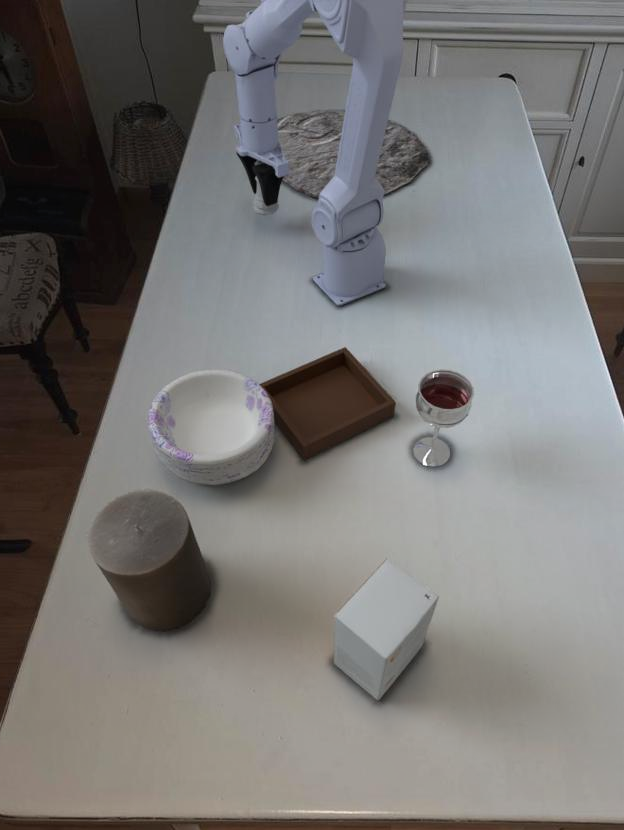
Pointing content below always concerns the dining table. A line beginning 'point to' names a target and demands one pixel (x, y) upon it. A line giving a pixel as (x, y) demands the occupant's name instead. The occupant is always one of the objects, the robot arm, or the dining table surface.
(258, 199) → the rook chess piece
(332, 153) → the worn metal disc
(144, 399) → the dining table surface
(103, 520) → the pillar candle
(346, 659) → the small box
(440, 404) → the wineglass
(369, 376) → the tray
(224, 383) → the paper bowls
